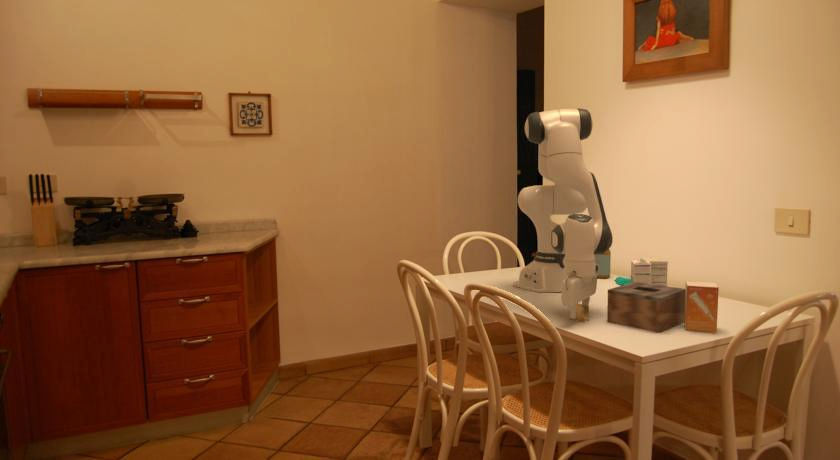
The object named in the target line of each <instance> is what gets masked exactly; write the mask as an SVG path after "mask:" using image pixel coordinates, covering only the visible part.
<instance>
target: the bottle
mask: <svg viewBox="0 0 840 460" xmlns="http://www.w3.org/2000/svg"><path fill="white" fill-rule="evenodd" d="M610 249H611V248H609V249H608V250H607V251H606V252H605V253H604V254H602V255H597V254H594V257H595V263H596V264H598V265H599V271H598V272H597V279H608V278H610V276H611V257H612V256H611V250H610Z"/></svg>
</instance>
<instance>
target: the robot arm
mask: <svg viewBox="0 0 840 460" xmlns="http://www.w3.org/2000/svg"><path fill="white" fill-rule="evenodd" d="M526 117H527V118H526V121H525V123H524V134H525V136H526V138H527V140H528V141H529V142H530V143H531V144H537V145H538V151H537V152H538V155H537V156H538V159H537V160H538V161H537V162H538V163H537V164H538V166H537V167H538V168H537V170H538V172H539V174H540V175H541V176H542V177H543V178H544V179H545V180H548V181H550V182H552V183H553V185H551V184H550V185H547V184H545V185H542V184H541V185H532V186H531V185H529V186H527V187H523V188H522V189H521V190H520V191H519V192H518V193H519V194H518V196H517V205H518V207H519V209H520V211H521V212H522V213H524V214H525V215H526V216H527V217H528V218H529V219H530V220H531V221H532V223H533V225H534V227H535V231H536V237H537V238H536V239H537V250H536V251H534V252H532V253H531V254H532V255H531V257H533V260H532V261H531V262H530V263H528V264H527V265H526V266H524V267H523V268H522V269H521V270H520V273H519V277H518V280H517V281H515V282H513V284H512V286H513V287H516V286H517V287H516V288H519V287H520V289H523V290H528V291H530V292H535V293H561V294H560V295H561V297H560V298H561V299H560V302H561V305H563V306H567V309H568V310H567V311H569V313H568V314H569V315H568V316H569V319H570V318H573V319H575V318H576V317H577V312H576V304H580V303H581V304H583V305H588V306H590V305H589V304H590V300H591V296H593V295H595V294H596V291H597V285H598V278H597V272H598V271H599V265H598V264H596V263H595V257H594V254H597V255H602V254H604V253H605V252H606V251H607V250H608V249H611V247H612V245H613V241H614V240H613V233H612V230H611V228H610V224H609V222H608V219H607V216H606V211H605V207H604V203H603V200H602V195H601V193H600V188H599V185H598V181H597V179H596V176H595V174H594V173H592V172H591V171H589V170H588V168H587V166H586V164H585V162H584V158H583V149H582V144H581V141H583V140H586V139H588V138H589V137H590V136H591V134H592V130H593V127H594V121H593V117H592V114H591V113H590V111H589V110H588V109H585V108H557V109H551V110H544V111H541V112H539V111H535V112H532V113H530V114H529V115H528V116H526ZM586 210H587V213H588V214H583V213H584V212H585V211H586ZM553 215H556V216H559V215H563V216H565V215H567V217H566V219H565V221H564V222H562V223H556V222H554V221H553V220H552V218H551V216H553Z"/></svg>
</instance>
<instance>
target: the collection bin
mask: <svg viewBox="0 0 840 460" xmlns="http://www.w3.org/2000/svg"><path fill="white" fill-rule="evenodd" d="M606 309H607V310H606V312H607V314H606V317H607V318H606V320H607V323H610V324H611V323H612V324H615V325H621V326H626V327H630V328H635V329H639V330H645V331H648V332H655V333H659V334H660V333H663V332H665V331H668V330H671V329H672V328H675V327H677V326H680V325H681V324H684V312H685V288H680V287H675V286H668V285H667V286H662V285H655V284H648V283H641V282H632V283H628V284H625V285H619V286H615V287H612V288H609V289H607V308H606Z"/></svg>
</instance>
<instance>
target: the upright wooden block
mask: <svg viewBox="0 0 840 460" xmlns="http://www.w3.org/2000/svg"><path fill="white" fill-rule="evenodd" d="M576 312H577V317H576V318H575V319H573V318H570V317H569V320H572V319H573V320H572V321H576V320H578V321H577V322H581V321H582V323H586V322H588V321H589V320H590V305H583V304H582V303H577V304H576ZM585 321H586V322H585Z"/></svg>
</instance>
